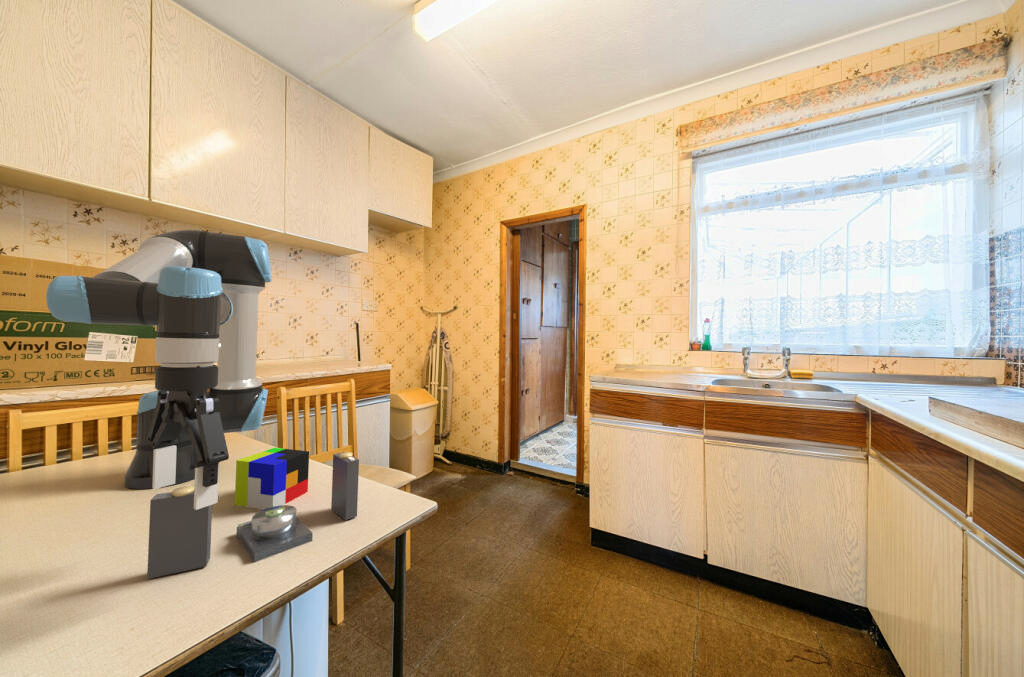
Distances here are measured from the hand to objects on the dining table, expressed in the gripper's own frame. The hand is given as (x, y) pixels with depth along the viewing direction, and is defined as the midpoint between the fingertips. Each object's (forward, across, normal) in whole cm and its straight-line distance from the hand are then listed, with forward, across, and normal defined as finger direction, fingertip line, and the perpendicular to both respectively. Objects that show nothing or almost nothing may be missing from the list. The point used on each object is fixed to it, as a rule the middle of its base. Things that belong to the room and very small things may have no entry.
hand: (183, 495), depth 57 cm
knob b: (+12, -7, -25) cm, 28 cm away
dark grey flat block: (+12, -1, 0) cm, 12 cm away
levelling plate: (+12, -4, -12) cm, 17 cm away
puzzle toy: (+12, +13, -22) cm, 28 cm away
